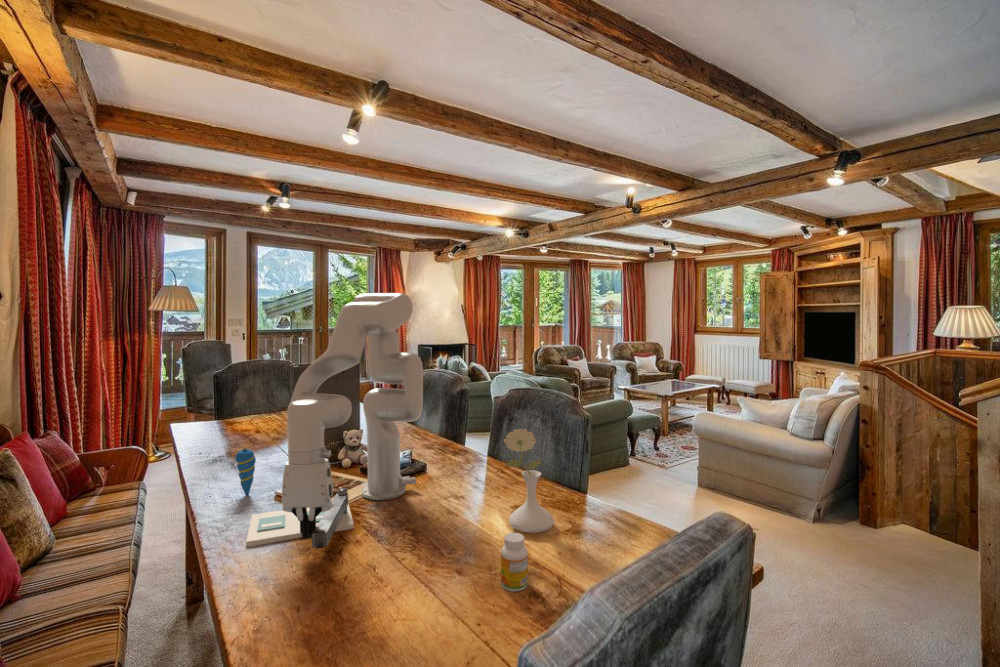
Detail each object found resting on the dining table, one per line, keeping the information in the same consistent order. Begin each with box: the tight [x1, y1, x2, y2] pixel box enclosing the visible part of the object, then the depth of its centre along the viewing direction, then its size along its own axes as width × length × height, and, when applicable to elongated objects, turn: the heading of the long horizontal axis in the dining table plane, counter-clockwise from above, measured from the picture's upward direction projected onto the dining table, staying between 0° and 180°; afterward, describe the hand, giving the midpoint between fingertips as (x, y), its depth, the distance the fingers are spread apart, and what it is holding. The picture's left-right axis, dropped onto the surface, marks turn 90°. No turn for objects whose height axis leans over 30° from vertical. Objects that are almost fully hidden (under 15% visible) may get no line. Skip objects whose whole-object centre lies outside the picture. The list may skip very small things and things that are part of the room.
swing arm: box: [311, 487, 349, 550], centre depth 115 cm, size 25×3×6 cm, turn 6°
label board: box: [245, 503, 355, 547], centre depth 123 cm, size 24×16×2 cm, turn 113°
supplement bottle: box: [500, 532, 529, 593], centre depth 96 cm, size 5×5×10 cm
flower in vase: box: [503, 428, 555, 534], centre depth 121 cm, size 13×11×25 cm
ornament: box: [235, 445, 257, 496], centre depth 141 cm, size 5×5×15 cm
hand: (308, 535), depth 108 cm, fingers closed
